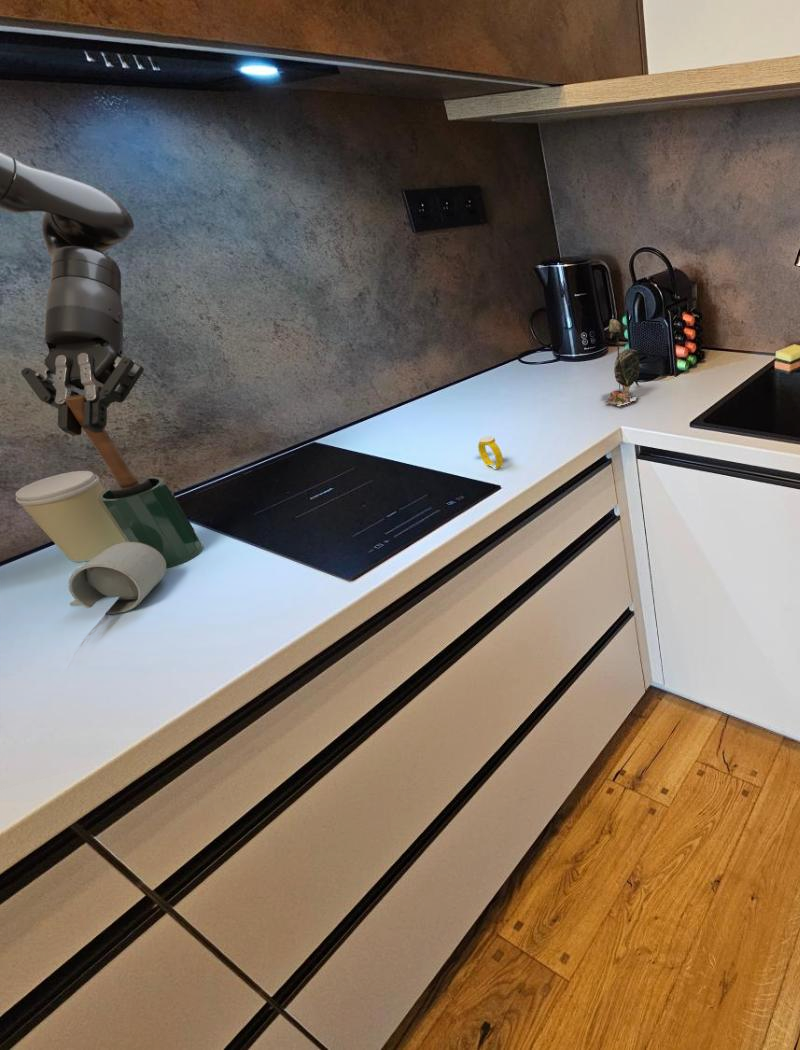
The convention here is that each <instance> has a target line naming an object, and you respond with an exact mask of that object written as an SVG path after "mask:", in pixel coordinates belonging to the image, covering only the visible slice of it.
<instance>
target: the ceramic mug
mask: <svg viewBox="0 0 800 1050" xmlns="http://www.w3.org/2000/svg"><path fill="white" fill-rule="evenodd" d="M166 571H167V568H166V561H165V559H164V557H163V556H162V554H161V553H160V552H159V551H158V550H156V549H155V548H153V547H151V546H149V545H146V544H144V543H140V542H124V543H120V544H116V545H114V546H112V547H109V548H108V549H106V550H105V551H103V552H101V553H100V554H99V555H98V556H96V557H95V558H93V559H92V560H90V561H87V562H85V563H84V564H83V565H82V566H80V567H78V568H77V569H76V570H75V571H73V573H72V574H71V575H70V577H69V579H68V592H69V593H70V595H71V596H72V598H73V599H74V600H73V601H71V602H70V603H69V605H70V606H73V607H85V608H86V609H91V608H92V607H93V606H94V605H95V604H96V603H97V602H98V601H99V600H100V599H101V598H102V597H103V596H104V597H107V598H118V599H116V601H115V602H113V604H112V605H111V607H110V608H109V609H108V610H107V611H106V612H105V614H112V615H113V614H114V615H115V614H122V613H126V612H129V611H131V610H133V609H134V608H137V606H138V605H139V604H140V603H141V602H142V601H143V600H144V599H145V598H146V597H147V596H148V595H149V594H150V593H151V591H152V590H154V588H155V587H156V586H157V585H158V584H159V583H160V582H161V580H162V579H163V577H164V576H165V574H166Z"/></svg>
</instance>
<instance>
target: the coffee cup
mask: <svg viewBox="0 0 800 1050" xmlns="http://www.w3.org/2000/svg"><path fill="white" fill-rule="evenodd" d="M105 490H106V489H105V488H104V487H103V484H102V483H101V479H100V477H99V476H98V475H97V474H95V473H94V472H92V471H89V470H75V471H69V472H64V473H60V474H55V475H52V476H49V477H45V478H41V479H39V480H36V481H34V482H30V483H29V484H26V485H25V486H23V487H21V488H19V489H18V490H17V491H16V492H15V501H16V503H18V505H20V506H22V507H23V509H24V510H25V511H26V512H27V513H28V514H29V516H30V517H31V518H32V519H33V520H34V522H35V523H36V524H37V525H38V526H39V527H40V528H41V529H42V531H43V532H44V533H45V534H46V535H47V536H48V537H49V539H50V540H51V541H52V542H53V543H54V544H55V545H56V546H57V547H58V549H59V550H60V551H61V552H62V553H63V554H64V556H66V557H67V558H68V559H69V560H70V561H71V562H73V563H87V562H89V561H90V560H92V559H93V558H95V557H96V556H98V555H99V554H100V553H101V552H103V551H105V550H106V549H108V548H109V547H112V546H114V545H116V544H120V543H124V542H126V541H125V539H124V538H123V536H122V535H121V533H120V532H119V530H118V529H117V527H116V526H115V524H114V523H113V521H112V520H111V518H110V517H109V516H108V514H107V513H106V511H105V510H104V508H103V507H102V505H101V504H100V502H99V501H98V495H100V494H101V493H102V492H103V491H105Z"/></svg>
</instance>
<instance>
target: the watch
mask: <svg viewBox="0 0 800 1050" xmlns="http://www.w3.org/2000/svg"><path fill="white" fill-rule="evenodd" d="M477 445H478V446H477V448H478V453H479V456H480V459H481V460H482V462H483V463H484V465H485V466H486V465H489V466H490V465H491V464H492V465H493V464H496V467H495V468H498V469H500V468H502V466H503V465H504V457H503V453H502V451H501V449H500V447H499V445H498V444H497V443H496V438H495V436H493V435H492V436H491V435H487V436H483V437H481V438H480V439H479V441H478V444H477ZM486 446H488V447H489V448H490V449H491V452H492V453H493V455H494V458H495V462H493V461H492V459H491V458H490V457H489V454H488V452H487V448H486ZM489 466H488V467H489ZM499 467H500V468H499Z"/></svg>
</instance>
